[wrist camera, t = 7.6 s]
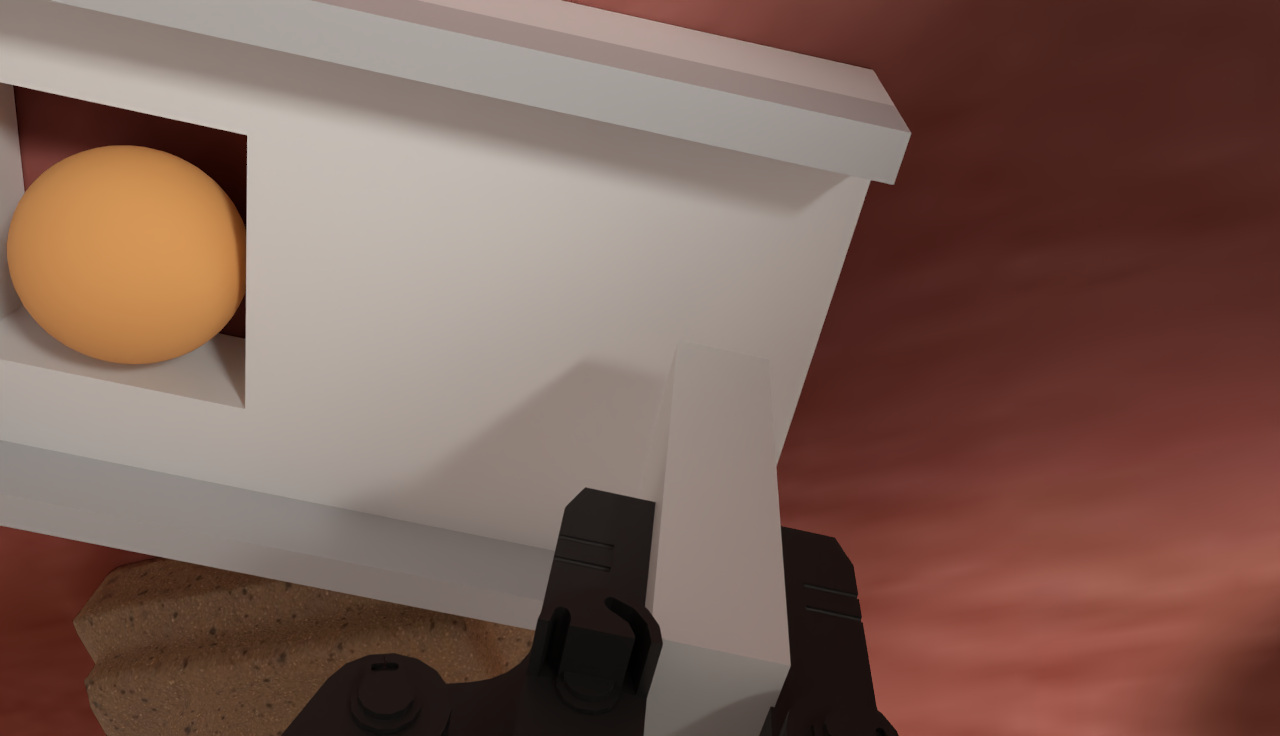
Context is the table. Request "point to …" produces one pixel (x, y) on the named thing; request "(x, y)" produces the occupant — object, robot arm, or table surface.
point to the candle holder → (253, 647)
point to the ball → (128, 254)
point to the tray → (431, 277)
